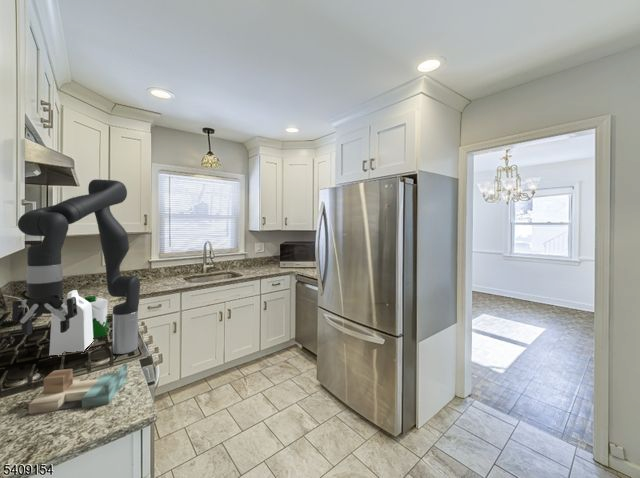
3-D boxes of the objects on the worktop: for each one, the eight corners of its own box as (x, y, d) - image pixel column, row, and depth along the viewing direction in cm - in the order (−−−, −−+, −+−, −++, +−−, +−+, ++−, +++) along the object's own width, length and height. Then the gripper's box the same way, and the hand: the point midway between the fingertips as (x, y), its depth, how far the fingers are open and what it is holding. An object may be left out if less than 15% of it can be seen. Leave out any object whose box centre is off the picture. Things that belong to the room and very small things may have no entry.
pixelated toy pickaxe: (59, 386, 93) (59, 369, 93) (126, 379, 99) (126, 363, 99) (28, 414, 80) (28, 394, 80) (108, 403, 85) (108, 385, 85)
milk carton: (80, 336, 134) (80, 296, 133) (102, 331, 142) (102, 293, 141) (88, 341, 130) (88, 299, 129) (110, 334, 137) (110, 295, 137)
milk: (61, 345, 124) (61, 289, 123) (93, 342, 129) (93, 287, 128) (49, 357, 113) (48, 295, 112) (84, 353, 118) (84, 293, 117)
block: (54, 385, 89) (54, 370, 89) (72, 383, 91) (72, 368, 90) (43, 394, 84) (43, 378, 84) (63, 392, 86) (63, 376, 86)
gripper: (81, 276, 86) (81, 326, 87) (23, 277, 82) (25, 330, 83) (67, 281, 79) (68, 336, 80) (3, 283, 75) (5, 340, 76)
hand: (46, 333), depth 81 cm, fingers open, 8 cm apart
